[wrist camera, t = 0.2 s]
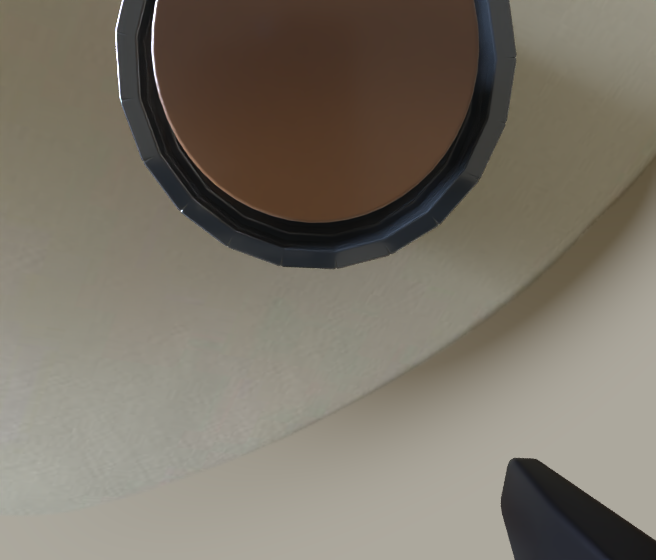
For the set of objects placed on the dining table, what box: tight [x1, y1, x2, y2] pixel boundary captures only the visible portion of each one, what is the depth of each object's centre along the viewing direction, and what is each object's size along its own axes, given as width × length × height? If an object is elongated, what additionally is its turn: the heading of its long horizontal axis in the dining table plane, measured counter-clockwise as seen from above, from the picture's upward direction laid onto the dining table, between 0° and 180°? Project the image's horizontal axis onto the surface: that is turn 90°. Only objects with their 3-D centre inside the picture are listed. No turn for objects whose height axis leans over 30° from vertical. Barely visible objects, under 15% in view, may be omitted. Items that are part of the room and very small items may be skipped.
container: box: [115, 0, 516, 269], centre depth 16 cm, size 9×9×9 cm
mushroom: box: [151, 0, 479, 223], centre depth 10 cm, size 5×5×6 cm
